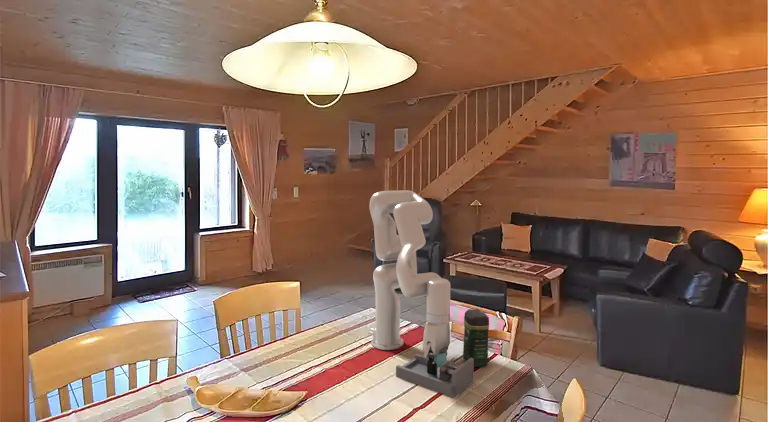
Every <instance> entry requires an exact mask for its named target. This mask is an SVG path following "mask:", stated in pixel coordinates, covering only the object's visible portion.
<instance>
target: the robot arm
mask: <svg viewBox="0 0 768 422" xmlns="http://www.w3.org/2000/svg"><path fill="white" fill-rule="evenodd" d="M368 205H369V214H370V216H371V219H372V223H373V232H374V247H375V248H374V249H375V255H376V258H377V259H378V260H380V261H384V262H385V261H396V263H395V262H394V263H388V264H386V263H385V264H382V265H379V266H377V267H376V268H375V269H374V270H373V271H372V272H373V273H372V275H373V276H372V278H373V279H372V280H373V285H374V292H375V324H374V325H375V328H374V327H371V328H370V329H369V331H368V335H370V336H372V339H371V345H372V347H374V348H376V349H378V350H383V351H393V350H394V351H395V350H398V349H400V348H402V347H404V339H403V338H402V337H401V335H400V334H401V299H400V296H399V294H398V293H397V292H396V291H395V290H396V289H400V291H401V293H402V295H403V296H404V297H405V298H408V299H414V298H422V297H426V304H425V305H426V315H425V318H426V319H425V320H426V321H425V325H424V329H423V330H424V331H423V337H422V338H423V339H422V352H423V355H422V356H423V357H424V358H425V359H426V362H427V373H428V374H431V375H434V376H435V375H436V373H437V363H436V357H437V354H439V351H440V350H441V349H442V348H444V347H445V346H447V351H446V357H447V356H448V350H449V346H450V343H451V328H450V327H451V326H450V321H451V282H450V281H449V280H448V279H447V278H442V277H441V275H439V274H438V273H435V272H424V273H423V272H422V273H418V265H417V263H418V262H417V251H418V250H420V249H422V248H423V247H424V246H425V245H426V242H427V241H426V237H425V234H424V230H423V226H422V225H427V224H428V225H429V224H430V223H431V222H432V220H433V217H434V215H433V214H434V211H433V209H432V207H431V205H430V203H429V202H428V201H427V200H425V199H424V197H421V196H420V195H419V194H417V193H416V192H415V191H412V190H409V189H408V190H407V189H406V190H404V189H403V190H381V191H378V192H374V194H372V196H371V197H370V199H369V204H368ZM391 214H393V217H392V216H391ZM397 233H398V234H397ZM430 351H432V352H433V353H431V352H430ZM431 355H433V359H432V357H430V356H431Z"/></svg>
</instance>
